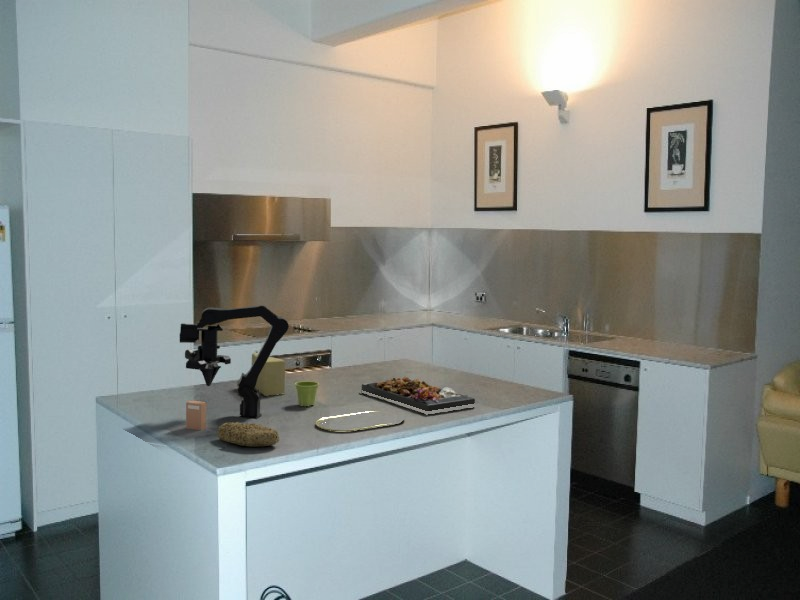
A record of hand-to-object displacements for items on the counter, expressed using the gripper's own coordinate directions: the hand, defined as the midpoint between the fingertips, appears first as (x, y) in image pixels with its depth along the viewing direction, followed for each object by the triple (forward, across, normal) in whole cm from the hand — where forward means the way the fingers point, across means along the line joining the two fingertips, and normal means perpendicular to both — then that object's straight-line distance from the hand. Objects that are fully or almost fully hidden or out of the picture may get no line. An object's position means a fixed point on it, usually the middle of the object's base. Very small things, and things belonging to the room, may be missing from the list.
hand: (208, 385), depth 267 cm
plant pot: (+11, -36, +20) cm, 43 cm away
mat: (+12, +17, +7) cm, 22 cm away
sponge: (+13, +20, +32) cm, 39 cm away
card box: (+12, +14, +6) cm, 20 cm away
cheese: (+11, -50, -10) cm, 52 cm away
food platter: (+11, -68, +54) cm, 87 cm away
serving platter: (+12, -22, +51) cm, 57 cm away
